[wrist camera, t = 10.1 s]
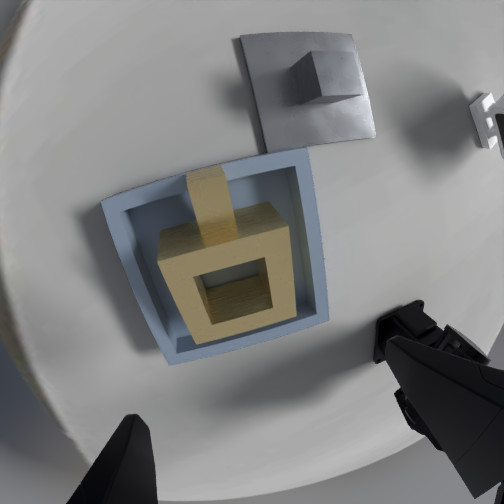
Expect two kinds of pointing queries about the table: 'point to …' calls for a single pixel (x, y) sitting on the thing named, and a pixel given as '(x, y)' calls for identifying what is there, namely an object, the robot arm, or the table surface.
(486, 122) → the security camera
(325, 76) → the grey peg base
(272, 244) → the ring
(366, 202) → the table surface
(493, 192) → the table surface
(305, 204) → the tray
